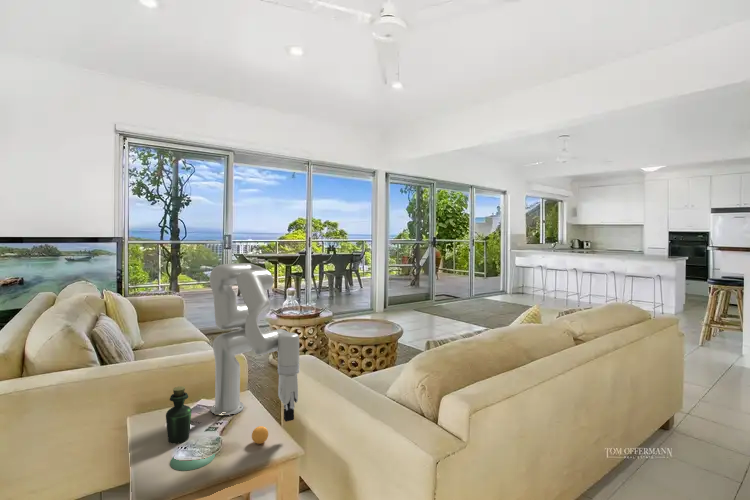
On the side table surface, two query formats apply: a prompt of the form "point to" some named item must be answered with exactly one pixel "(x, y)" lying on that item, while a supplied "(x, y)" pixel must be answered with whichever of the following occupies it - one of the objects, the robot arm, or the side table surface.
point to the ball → (259, 434)
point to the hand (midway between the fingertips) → (288, 419)
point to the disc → (190, 463)
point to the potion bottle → (178, 417)
